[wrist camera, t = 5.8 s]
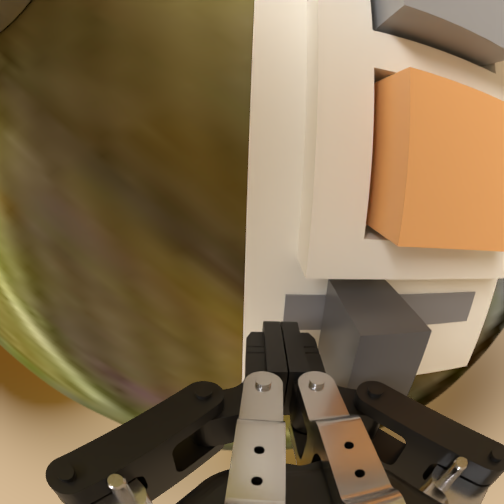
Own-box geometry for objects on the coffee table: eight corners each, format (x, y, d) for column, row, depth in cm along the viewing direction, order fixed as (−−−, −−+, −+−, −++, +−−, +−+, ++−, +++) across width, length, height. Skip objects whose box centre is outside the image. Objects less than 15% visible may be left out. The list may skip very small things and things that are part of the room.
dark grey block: (317, 347, 16) (338, 415, 11) (328, 278, 15) (360, 335, 10) (369, 345, 16) (402, 406, 11) (384, 279, 15) (431, 330, 10)
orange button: (365, 223, 13) (398, 246, 10) (374, 83, 11) (409, 66, 8) (469, 231, 13) (510, 252, 10) (480, 113, 11) (524, 111, 8)
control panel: (242, 368, 18) (241, 415, 15) (257, -62, 10) (259, -102, 7) (457, 354, 19) (483, 386, 15) (489, 4, 11) (523, -10, 7)
